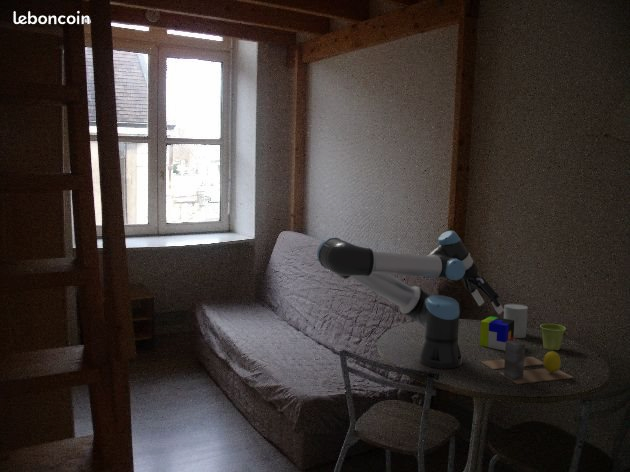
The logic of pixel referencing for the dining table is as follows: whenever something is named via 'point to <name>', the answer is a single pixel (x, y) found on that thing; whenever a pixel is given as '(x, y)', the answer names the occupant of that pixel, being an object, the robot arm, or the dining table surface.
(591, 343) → the dining table surface
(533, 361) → the brown wooden plank
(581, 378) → the dining table surface
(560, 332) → the plant pot
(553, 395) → the dining table surface
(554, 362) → the lemon
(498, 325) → the puzzle toy
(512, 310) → the white cylinder
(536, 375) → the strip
